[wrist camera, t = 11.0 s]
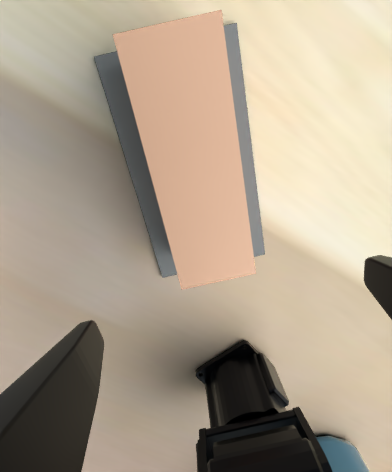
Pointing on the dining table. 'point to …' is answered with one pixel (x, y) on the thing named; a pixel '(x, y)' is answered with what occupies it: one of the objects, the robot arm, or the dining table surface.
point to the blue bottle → (342, 455)
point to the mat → (137, 159)
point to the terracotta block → (191, 143)
